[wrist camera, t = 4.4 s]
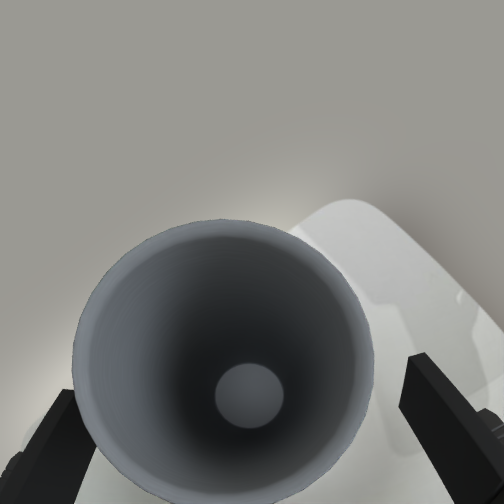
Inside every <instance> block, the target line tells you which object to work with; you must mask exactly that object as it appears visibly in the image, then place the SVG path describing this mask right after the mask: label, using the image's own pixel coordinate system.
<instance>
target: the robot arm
mask: <svg viewBox="0 0 504 504" xmlns="http://www.w3.org/2000/svg"><path fill="white" fill-rule="evenodd" d="M399 409H400V410H401V412H402V414H403V415H404V417H405V418H406V420H407V422H408V423H409V425H410V427H411V428H412V430H413V432H414V433H415V435H416V437H417V439H418V440H419V442H420V444H421V445H422V447H423V449H424V450H425V452H426V454H427V456H428V457H429V459H430V461H431V463H432V464H433V466H434V468H435V469H436V471H437V473H438V475H439V477H440V478H441V480H442V482H443V484H444V485H445V487H446V489H447V491H448V493H449V494H450V496H451V498H452V500H453V502H454V504H504V423H503V422H502V420H501V419H500V418H499V417H498V416H497V415H496V414H495V413H493V412H491V411H489V410H488V409H486V408H484V409H482V410H480V411H478V412H476V411H475V409H474V408H473V407H472V406H471V405H470V403H469V402H468V401H467V400H466V399H465V398H464V396H463V395H462V394H461V393H460V392H459V391H458V389H457V388H456V387H455V386H454V385H453V384H452V383H451V381H450V380H449V379H448V378H447V377H446V376H445V375H444V373H443V372H442V371H441V370H440V369H439V368H438V367H437V366H436V364H435V363H434V362H433V361H432V360H431V359H430V358H429V357H428V355H427V354H426V353H425V352H424V353H420V354H417V355H413V356H410V357H408V362H407V368H406V374H405V379H404V384H403V389H402V393H401V398H400V402H399ZM96 447H97V445H96V444H95V442H94V440H93V439H92V437H91V435H90V433H89V432H88V430H87V428H86V426H85V425H84V422H83V419H82V416H81V413H80V410H79V407H78V404H77V401H76V398H75V392H74V390H68V389H63V390H62V391H61V392H60V394H59V396H58V397H57V399H56V400H55V402H54V403H53V405H52V406H51V408H50V409H49V411H48V412H47V414H46V415H45V417H44V419H43V420H42V422H41V423H40V425H39V427H38V428H37V430H36V431H35V433H34V435H33V436H32V438H31V440H30V441H29V443H28V445H27V446H26V448H25V450H24V451H23V452H20V451H19V452H18V453H17V454H16V455H15V456H13V457H12V458H11V459H10V461H9V463H8V465H7V466H6V470H4V471H3V473H2V475H1V476H2V477H0V504H74V502H75V500H76V497H77V494H78V492H79V489H80V486H81V484H82V481H83V479H84V476H85V474H86V471H87V469H88V466H89V464H90V461H91V459H92V456H93V454H94V451H95V449H96Z"/></svg>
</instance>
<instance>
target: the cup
mask: <svg viewBox="0 0 504 504" xmlns="http://www.w3.org/2000/svg"><path fill="white" fill-rule="evenodd" d="M72 377H73V385H74V392H75V398H76V401H77V404H78V407H79V410H80V413H81V416H82V419H83V422H84V425H85V426H86V428H87V430H88V432H89V433H90V435H91V437H92V439H93V440H94V442H95V444H96V445H97V447H98V449H99V450H100V451H101V452H102V454H103V455H104V456H105V457H106V458H107V459H108V460H109V461H110V463H111V464H112V465H113V466H114V467H115V468H116V469H117V470H118V471H119V472H120V473H121V474H122V475H124V476H125V477H126V478H128V479H129V480H130V481H132V482H133V483H134V484H136V485H137V486H139V487H140V488H141V489H143V490H144V491H146V492H148V493H150V494H153V495H155V496H157V497H159V498H161V499H164V500H166V501H168V502H170V503H173V504H274V503H276V502H278V501H280V500H283V499H285V498H287V497H289V496H291V495H293V494H295V493H298V492H300V491H302V490H304V489H305V488H306V487H308V486H309V485H310V484H312V483H313V482H314V481H316V480H317V479H318V478H320V477H321V476H322V475H323V474H325V473H326V472H327V471H328V470H330V469H331V467H332V466H333V465H334V464H335V463H336V462H337V460H338V459H339V458H340V457H341V456H342V454H343V453H344V452H345V451H346V449H347V448H348V447H349V446H350V444H351V443H352V441H353V439H354V437H355V435H356V433H357V431H358V429H359V427H360V425H361V423H362V421H363V419H364V417H365V415H366V412H367V408H368V404H369V400H370V396H371V392H372V388H373V380H374V350H373V344H372V339H371V334H370V328H369V324H368V321H367V319H366V316H365V314H364V312H363V309H362V307H361V304H360V302H359V300H358V297H357V296H356V294H355V293H354V291H353V290H352V288H351V287H350V285H349V284H348V282H347V281H346V279H345V278H344V276H343V275H342V273H341V272H340V271H339V270H338V269H337V268H336V267H335V266H334V265H333V264H332V263H331V262H330V261H328V260H327V259H326V258H325V257H324V256H323V255H322V254H321V253H320V252H318V251H317V250H315V249H314V248H313V247H311V246H310V245H308V244H307V243H305V242H304V241H302V240H301V239H299V238H297V237H295V236H293V235H290V234H288V233H286V232H283V231H281V230H279V229H277V228H275V227H270V226H267V225H263V224H258V223H255V222H250V221H242V220H228V219H218V220H207V221H197V222H192V223H189V224H185V225H181V226H177V227H174V228H170V229H168V230H166V231H164V232H161V233H159V234H157V235H155V236H153V237H151V238H149V239H146V240H145V241H143V242H142V243H141V244H139V245H138V246H136V247H135V248H133V249H132V250H130V251H129V252H127V253H126V254H125V255H124V256H123V257H122V258H121V259H120V260H119V261H117V263H115V265H113V266H112V267H111V268H110V269H109V270H108V271H107V272H106V274H105V275H104V276H103V278H102V279H101V281H100V282H99V284H98V285H97V286H96V288H95V289H94V290H93V292H92V294H91V295H90V297H89V299H88V302H87V304H86V306H85V308H84V310H83V312H82V314H81V317H80V320H79V323H78V327H77V331H76V335H75V340H74V343H73V356H72Z"/></svg>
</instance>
